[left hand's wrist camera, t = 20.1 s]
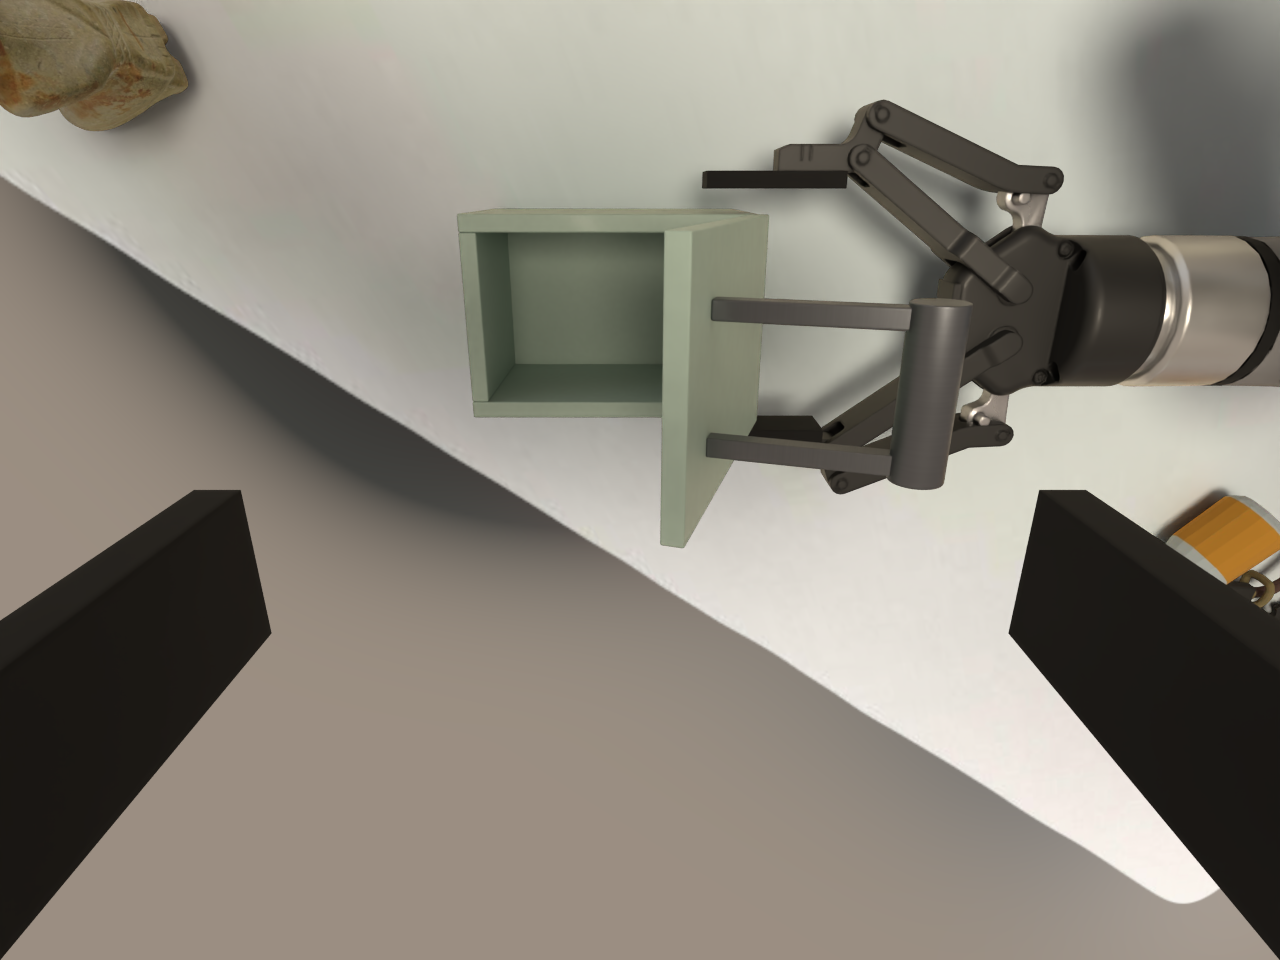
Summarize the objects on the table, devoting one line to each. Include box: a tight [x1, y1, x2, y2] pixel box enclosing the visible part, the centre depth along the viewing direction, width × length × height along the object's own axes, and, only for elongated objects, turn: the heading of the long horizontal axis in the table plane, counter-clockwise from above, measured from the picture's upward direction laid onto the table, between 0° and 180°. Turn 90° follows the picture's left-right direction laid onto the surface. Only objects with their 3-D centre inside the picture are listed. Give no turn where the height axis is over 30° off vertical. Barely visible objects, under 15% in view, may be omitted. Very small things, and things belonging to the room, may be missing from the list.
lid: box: [660, 214, 973, 548], centre depth 27 cm, size 15×10×8 cm
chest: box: [457, 209, 758, 417], centre depth 40 cm, size 14×10×9 cm
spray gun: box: [1166, 495, 1280, 621], centre depth 50 cm, size 4×17×15 cm
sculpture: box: [0, 0, 188, 131], centre depth 32 cm, size 6×7×15 cm
